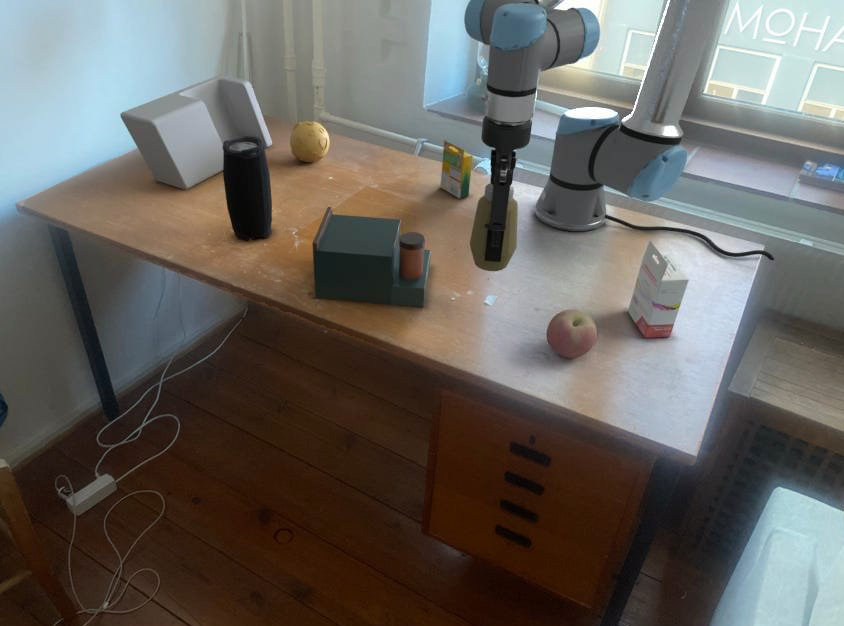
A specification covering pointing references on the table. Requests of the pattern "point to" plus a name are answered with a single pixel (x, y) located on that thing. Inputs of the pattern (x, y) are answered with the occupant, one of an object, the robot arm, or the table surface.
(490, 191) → the squeeze bottle
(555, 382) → the table surface
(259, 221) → the portable speaker
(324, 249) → the dark green stepped block
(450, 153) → the crayon box
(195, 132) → the bracket
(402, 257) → the spice jar
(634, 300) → the ink cartridge box
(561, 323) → the apple
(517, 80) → the robot arm
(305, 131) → the stress ball
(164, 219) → the table surface
